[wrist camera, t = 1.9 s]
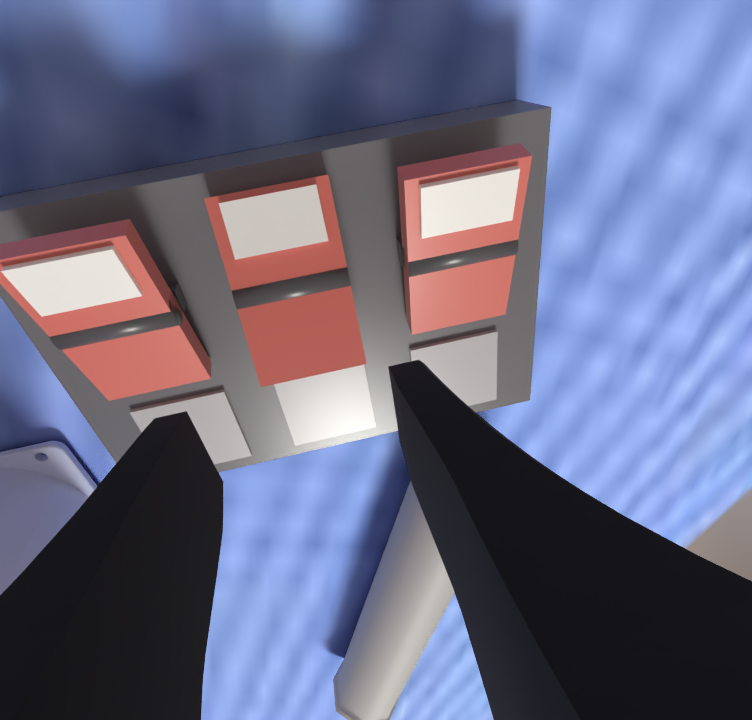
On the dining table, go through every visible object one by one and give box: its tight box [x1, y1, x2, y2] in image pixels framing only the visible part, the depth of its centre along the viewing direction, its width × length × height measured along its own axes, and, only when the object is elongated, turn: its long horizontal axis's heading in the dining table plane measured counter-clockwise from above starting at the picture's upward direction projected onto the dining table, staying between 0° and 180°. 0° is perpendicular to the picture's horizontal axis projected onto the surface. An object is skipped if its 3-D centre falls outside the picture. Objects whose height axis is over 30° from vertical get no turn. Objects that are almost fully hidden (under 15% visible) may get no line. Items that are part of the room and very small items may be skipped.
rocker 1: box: [0, 219, 212, 401], centre depth 14 cm, size 4×6×1 cm, turn 8°
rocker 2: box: [204, 175, 367, 387], centre depth 14 cm, size 4×6×1 cm, turn 8°
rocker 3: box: [397, 143, 532, 335], centre depth 15 cm, size 4×6×1 cm, turn 8°
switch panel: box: [0, 100, 551, 472], centre depth 18 cm, size 18×12×3 cm, turn 98°
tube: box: [333, 480, 455, 720], centre depth 30 cm, size 5×5×25 cm
